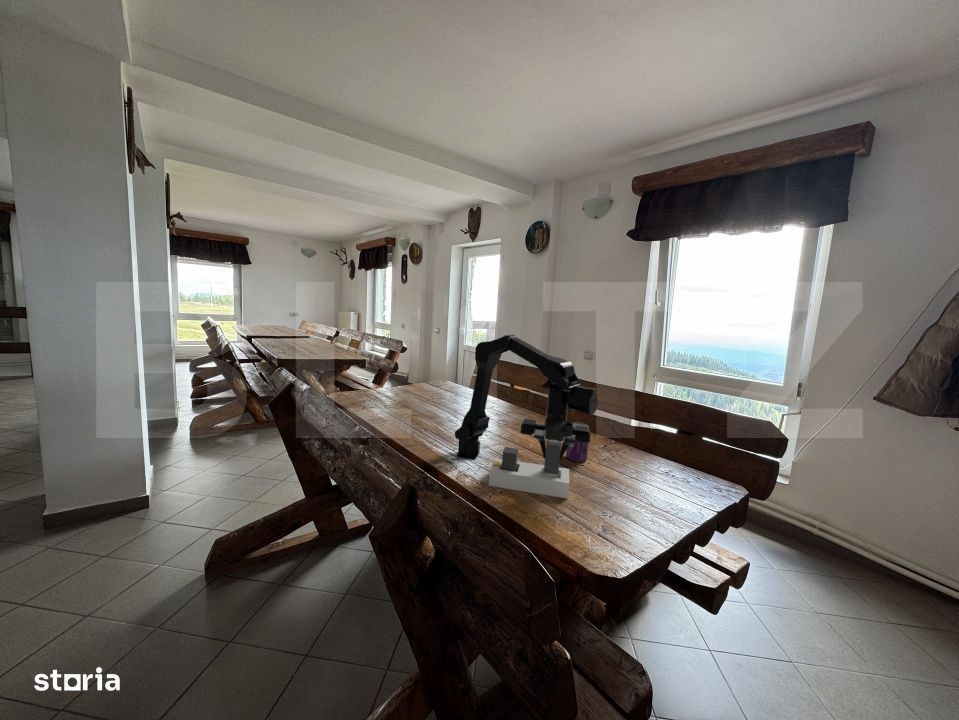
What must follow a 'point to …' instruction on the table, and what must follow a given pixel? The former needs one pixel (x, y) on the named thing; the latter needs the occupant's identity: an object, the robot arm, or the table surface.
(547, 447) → the plug
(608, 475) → the table surface
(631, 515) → the table surface
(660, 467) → the table surface
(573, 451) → the beverage can
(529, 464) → the power strip
